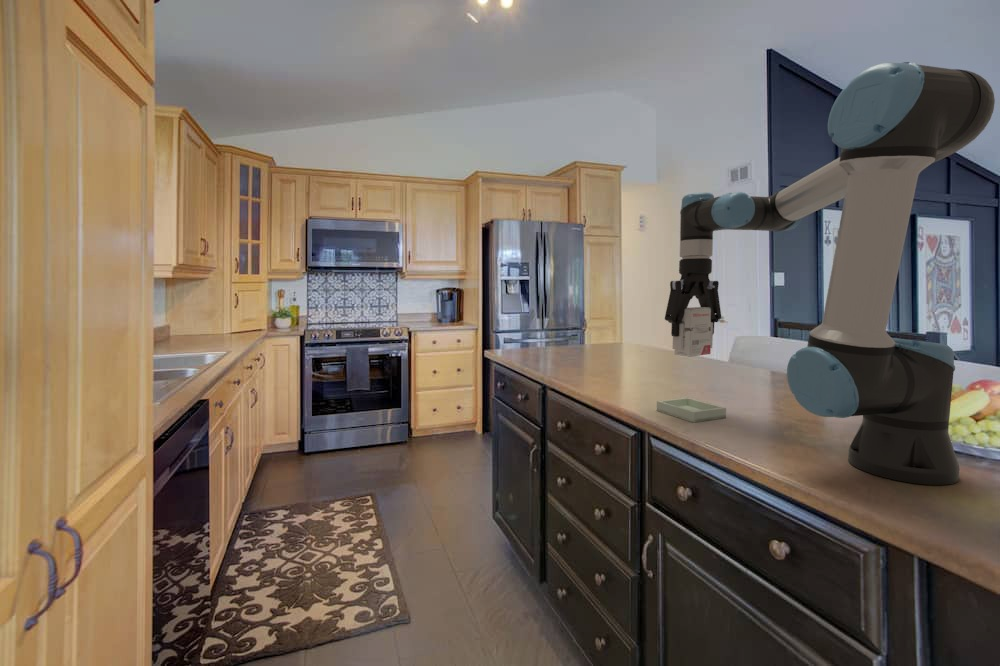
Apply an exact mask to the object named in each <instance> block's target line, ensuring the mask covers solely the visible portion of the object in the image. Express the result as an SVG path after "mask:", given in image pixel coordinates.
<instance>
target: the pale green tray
mask: <svg viewBox="0 0 1000 666" xmlns="http://www.w3.org/2000/svg"><path fill="white" fill-rule="evenodd" d="M656 411H657V412H659V413H663V414H666V415H669V416H672V417H675V418H678V419H681V420H684V421H687V422H690V423H699V422H700V423H701V422H706V421H708V422H709V421H715V420H721V419H726V417H727V407H725V406H721V405H717V404H713V403H709V402H705V401H702V400H699V399H695V398H692V397H691V398H690V397H682V398H681V397H680V398H673V399H665V400H657V401H656Z"/></svg>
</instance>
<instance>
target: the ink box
mask: <svg viewBox="0 0 1000 666" xmlns="http://www.w3.org/2000/svg"><path fill="white" fill-rule="evenodd" d="M681 324H684V331H683V350H675V349H674V355H676V356H683V357H688V358H690V357H699V356H704V355H711V351H712V348H711V345H710V344H711V308H710V307H700V306H698V307H697V306H695V307H687V308H686V309H685V313H684V316H683V318H682V321H681Z"/></svg>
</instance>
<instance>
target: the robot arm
mask: <svg viewBox="0 0 1000 666" xmlns="http://www.w3.org/2000/svg"><path fill="white" fill-rule="evenodd" d="M995 101H996V100H995V94H994V91H993V88H992V85H990V83H989V82H988V81H987V79H985V78H984V77H983V76H981V75H980V74H978V73H976V72H974V71H969V70H966V69H965V70H964V69H957V68H953V69H952V68H946V67H945V68H944V67H939V66H938V67H937V66H930V65H924V64H923V65H922V64H917V63H916V62H911V61H910V62H909V61H905V62H904V61H903V62H882V63H879V64H875V65H872V66H870V67H868V68H867V69H865V70H863V71H862V72H860V73H858V74H857V75H856V76H855V77H853V78H852V79H851V80H850V82H849V83H848V85H847V86H845V87H844V88H843V89H842V90H841V92H840V93H839V94H838V95H837V96H836V99H835V101H834V102H833V105H832V106H831V109H830V111H829V116H828V119H827V120H828V121H827V133H828V136H829V137H830V138H831V141H832V143H833V144H834V145H836V146H837V147H838V148H840V149H841V151H840V156H839V157H837V158H836V159H834V160H832V161H831V162H829V163H827V164H825V165H824V166H822V167H820V168H819V169H817V170H815V171H813V172H811V173H809V174H808V175H806V176H804V177H803V178H801V179H799V180H797V181H796V182H794V183H792V184H791V185H788V186H787V187H785V188H783V189H782V190H780V191H777V192H776V193H774V194H772V195H770V196H754V195H753V196H750V195H749V194H747V193H745V192H743V191H736V192H728V193H727V192H726V193H725V194H722V195H720V196H719V195H718V196H716V197H715V196H714V194H713V193H711V192H693V193H688V194H685V195H683V197H682V199H681V207H680V212H679V213H680V219H679V220H680V227H679V228H680V231H679V238H680V240H679V244H680V245H679V257H680V258H681V259H680V260H679V264H678V266H679V267H678V273H679V274H680V275H681V276H680V279H679V280H671V281H670V282H669V286H670V291H669V296H668V301H667V305H666V310H665V316H664V320H665V321H667V322H668V324H669V323H670V324H671V337H672V350H674V351H675V350H683V331H684V324H681V321H682V318H683V316H684V313H685V309H686V308H688V306H689V304H690V301H692V299H693V297H695V298H696V299H697V301H698V303H699V307H710V308H711V344H710V345H711V349H712V348H713V335H714V333H715V323H718V322H719V320H721V319H722V313H721V312H722V311H721V310H722V309H721V305H720V304H721V303H720V296H719V284H720V283H719V281H718V280H710V277H709V276H710V274H712V272H713V271H712V270H713V260H712V259H711V257H712V256H713V243H714V242H713V241H714V232H716V231H725V230H726V231H727V230H728V231H729V230H731V231H732V230H733V231H735V230H738V231H767V232H768V231H769V232H777V233H779V232H783V231H784V232H785V231H787V232H788V231H791V230H794V229H795V228H797V227H798V225H799V224H800V223H801V222H802V220H803V218H804V217H806V216H809V215H811V214H813V213H815V212H816V211H819V210H821V209H823V208H826V207H828V206H830V205H832V204H834V203H836V202H838V201H841V200H842V199H843V204H842V211H841V215H840V221H839V228H838V233H837V237H836V244H835V249H834V254H833V259H832V260H833V261H832V267H831V272H830V277H829V283H828V289H827V294H826V300H825V305H824V312H823V317H822V321H821V323H820V324H819V325H817V326H815V327H814V328H813V329H811V330H810V331H809V336H808V341H807V346H806V347H802V348H800V349H799V350H797V351H796V352H795V354H792V356H791V357H790V358H789V360H788V362H787V366H786V367H787V368H786V380H787V384H788V387H789V390H790V392H791V394H793V395H794V398H795V400H796V401H797V403H798V404H799V405H800V406H801V407H802V408H803V409H805V411H807V412H809V413H811V414H813V415H816V416H818V417H822V418H838V419H846V418H850V417H859V416H862V420H861V424H860V425H859V427H858V430H857V431H856V433H855V435H854V438H853V440H852V441H851V444H850V446H849V449H848V455H847V456H848V459H847V460H848V462H849V463H850V465H852V466H853V467H855V468H857V469H859V470H862V471H864V472H866V473H869V474H872V475H875V476H878V477H882V478H884V479H885V478H886V479H889V480H895V481H900V482H905V483H910V484H920V485H928V486H929V485H931V486H943V485H944V486H946V485H951V484H952V485H953V484H956V483H957V482H958V481H959V480H960V479H959V478H960V464H959V461H958V458H957V455H956V453H955V449H954V446H953V443H952V440H951V438H950V434H949V428H950V427H949V426H950V417H951V416H950V415H951V403H952V392H953V391H952V390H953V383H954V382H953V380H954V372H955V370H956V366H955V353H954V350H953V348H952V347H951V346H949V345H948V344H944V343H939V342H937V343H936V342H932V341H924V340H913V339H908V338H907V339H906V338H905V339H904V338H897V337H895V338H894V337H891V336H890V335H889V333H888V332H887V328H888V323H889V322H888V321H889V317H890V312H891V307H892V304H893V299H894V294H895V290H896V283H897V279H898V274H899V270H900V264H901V259H902V257H903V256H902V255H903V249H904V245H905V240H906V236H907V230H908V228H909V227H908V226H909V223H910V222H909V221H910V217H911V211H912V208H913V202H914V198H915V192H916V188H917V184H918V183H917V182H918V178H919V175H920V174H921V172H922V171H923V170H925V169H926V168H927V167H929V166H930V165H931V164H934V163H936V162H938V161H941V160H943V159H945V158H947V157H949V156H951V155H952V154H955V153H957V152H958V151H960V150H962V149H964V147H967V145H969V144H971V143H972V142H973V141H975V139H977V137H979V135H980V134H981V133H982V132H983V131H984V130H985V129H986V127H987V126H988V124H989V122H990V120H991V119H992V115H993V113H994V109H995V104H996V103H995Z"/></svg>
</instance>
